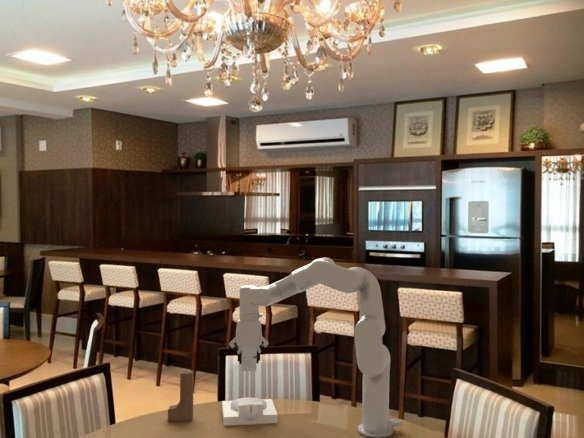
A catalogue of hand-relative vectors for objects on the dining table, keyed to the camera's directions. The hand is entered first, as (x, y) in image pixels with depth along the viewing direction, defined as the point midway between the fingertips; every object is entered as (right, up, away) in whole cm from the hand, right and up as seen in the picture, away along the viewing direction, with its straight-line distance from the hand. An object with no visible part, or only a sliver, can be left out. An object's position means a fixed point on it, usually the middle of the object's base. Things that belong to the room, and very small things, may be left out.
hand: (248, 362), depth 212 cm
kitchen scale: (0, -20, -2) cm, 20 cm away
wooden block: (-25, -20, -6) cm, 33 cm away
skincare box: (0, -3, 0) cm, 3 cm away
